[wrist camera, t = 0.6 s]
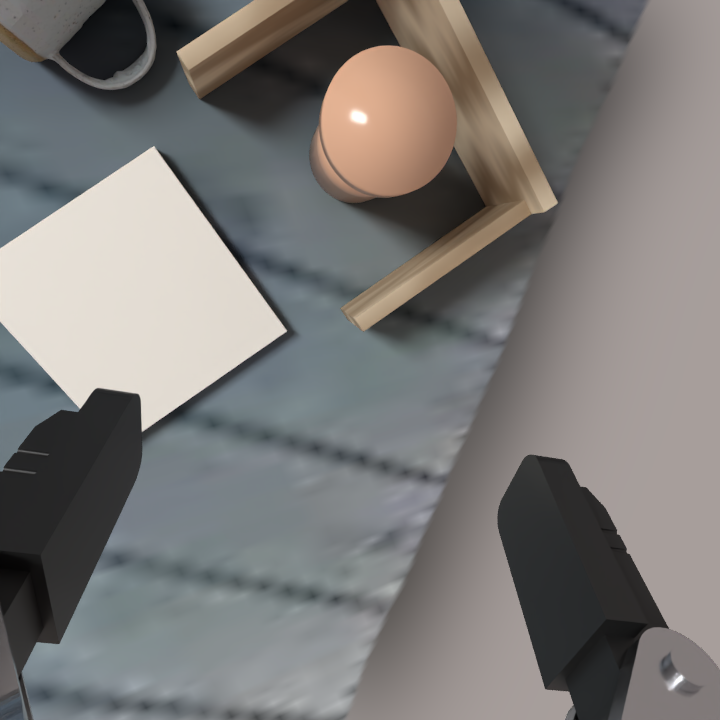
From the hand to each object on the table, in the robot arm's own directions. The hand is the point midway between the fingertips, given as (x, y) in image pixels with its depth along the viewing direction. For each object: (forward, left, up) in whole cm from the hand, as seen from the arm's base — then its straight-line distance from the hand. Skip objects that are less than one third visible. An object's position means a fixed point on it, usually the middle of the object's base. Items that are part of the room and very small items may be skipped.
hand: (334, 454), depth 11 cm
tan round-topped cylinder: (-6, +10, -26) cm, 29 cm away
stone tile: (-6, -7, -26) cm, 28 cm away
